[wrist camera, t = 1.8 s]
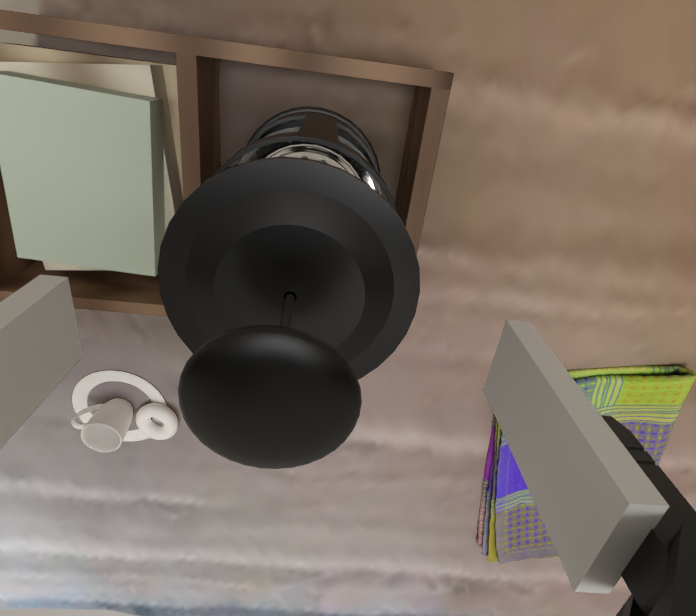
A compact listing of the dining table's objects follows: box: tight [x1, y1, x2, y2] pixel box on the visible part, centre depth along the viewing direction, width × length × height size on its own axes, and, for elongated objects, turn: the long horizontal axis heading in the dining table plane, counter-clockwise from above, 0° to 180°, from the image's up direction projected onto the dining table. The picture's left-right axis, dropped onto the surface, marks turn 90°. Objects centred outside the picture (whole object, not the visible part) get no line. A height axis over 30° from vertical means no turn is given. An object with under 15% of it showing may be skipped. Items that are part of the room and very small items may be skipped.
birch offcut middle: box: [0, 62, 183, 271], centre depth 27 cm, size 9×12×2 cm
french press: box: [157, 107, 420, 469], centre depth 20 cm, size 12×9×23 cm
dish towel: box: [477, 365, 696, 563], centre depth 44 cm, size 18×24×3 cm
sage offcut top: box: [0, 71, 165, 277], centre depth 26 cm, size 8×10×2 cm
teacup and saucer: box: [71, 370, 178, 452], centre depth 38 cm, size 9×8×4 cm
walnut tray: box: [0, 10, 454, 316], centre depth 28 cm, size 27×16×5 cm, turn 83°
